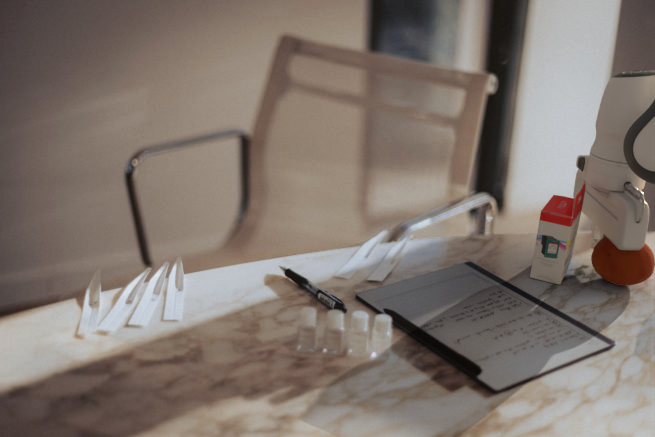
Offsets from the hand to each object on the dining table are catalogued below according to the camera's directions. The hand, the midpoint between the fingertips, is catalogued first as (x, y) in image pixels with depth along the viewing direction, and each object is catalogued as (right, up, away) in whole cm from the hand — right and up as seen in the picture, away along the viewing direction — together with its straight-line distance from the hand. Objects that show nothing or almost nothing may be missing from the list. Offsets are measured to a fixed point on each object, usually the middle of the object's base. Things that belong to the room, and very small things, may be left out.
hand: (598, 251), depth 104 cm
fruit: (+1, -5, -5) cm, 7 cm away
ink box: (-9, -3, -3) cm, 10 cm away
